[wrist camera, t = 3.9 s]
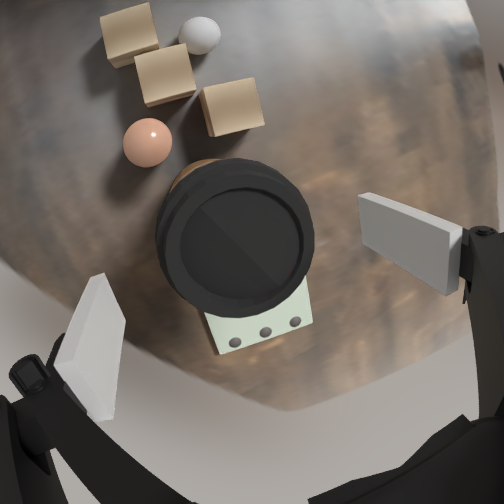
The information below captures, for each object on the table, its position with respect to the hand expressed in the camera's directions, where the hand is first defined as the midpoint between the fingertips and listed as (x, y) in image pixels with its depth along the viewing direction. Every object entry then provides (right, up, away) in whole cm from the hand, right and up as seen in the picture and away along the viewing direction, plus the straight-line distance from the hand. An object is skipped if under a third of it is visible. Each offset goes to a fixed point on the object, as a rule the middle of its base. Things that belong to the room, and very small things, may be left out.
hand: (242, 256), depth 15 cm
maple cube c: (-2, +13, +11) cm, 17 cm away
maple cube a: (-10, +18, +7) cm, 22 cm away
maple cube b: (-7, +15, +9) cm, 19 cm away
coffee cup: (-4, +5, +14) cm, 15 cm away
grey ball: (-4, +18, +7) cm, 20 cm away
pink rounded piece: (-8, +10, +11) cm, 17 cm away
